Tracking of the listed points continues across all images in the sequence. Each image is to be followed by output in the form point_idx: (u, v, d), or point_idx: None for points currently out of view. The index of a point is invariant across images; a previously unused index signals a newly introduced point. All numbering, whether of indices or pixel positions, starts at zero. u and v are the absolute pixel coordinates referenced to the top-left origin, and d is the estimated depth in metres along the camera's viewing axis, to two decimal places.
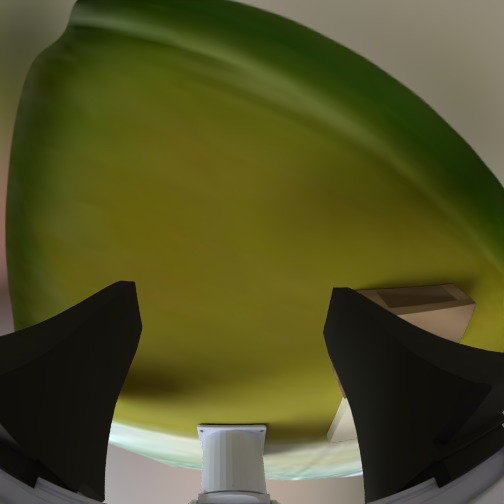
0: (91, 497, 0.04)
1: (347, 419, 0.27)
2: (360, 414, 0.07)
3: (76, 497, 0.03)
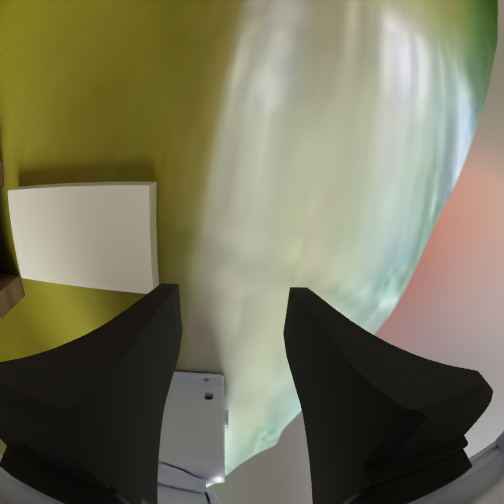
0: None
1: (76, 274, 0.16)
2: (309, 422, 0.07)
3: None
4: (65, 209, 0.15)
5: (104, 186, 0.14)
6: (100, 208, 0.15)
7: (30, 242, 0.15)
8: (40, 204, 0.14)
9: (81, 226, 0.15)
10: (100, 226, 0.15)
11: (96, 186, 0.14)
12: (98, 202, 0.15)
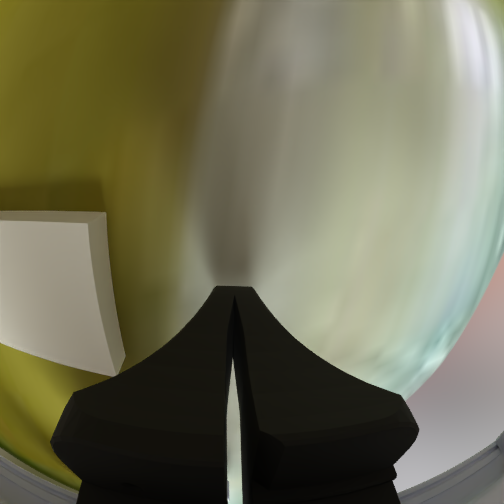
0: None
1: (17, 338, 0.09)
2: (241, 425, 0.06)
3: (76, 497, 0.03)
4: None
5: (27, 222, 0.08)
6: (26, 256, 0.08)
7: None
8: None
9: (9, 278, 0.08)
10: (31, 282, 0.08)
11: (17, 222, 0.07)
12: (22, 246, 0.08)
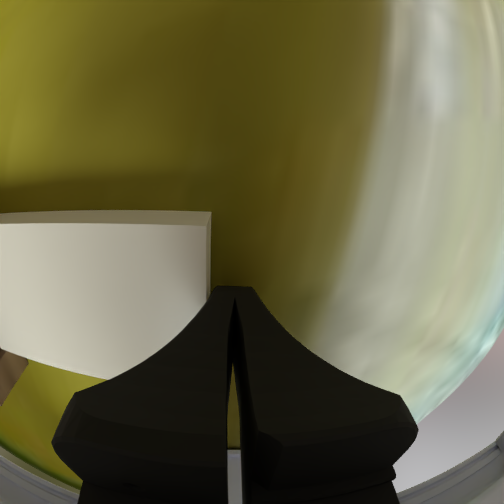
0: None
1: (77, 360, 0.10)
2: (240, 425, 0.06)
3: (76, 497, 0.03)
4: (45, 262, 0.08)
5: (111, 225, 0.08)
6: (107, 266, 0.08)
7: (2, 306, 0.08)
8: (5, 252, 0.08)
9: (75, 293, 0.08)
10: (110, 296, 0.08)
11: (96, 225, 0.08)
12: (101, 254, 0.08)
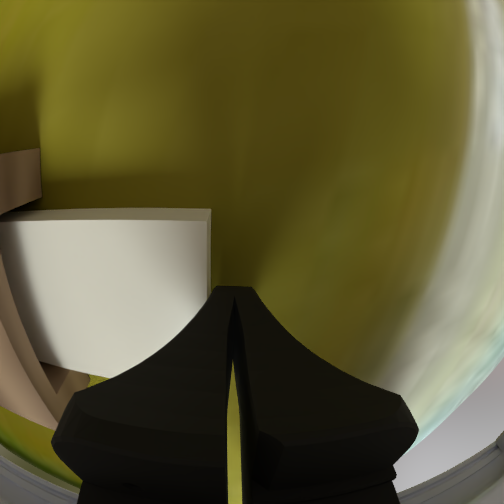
0: None
1: (78, 358, 0.10)
2: (240, 425, 0.06)
3: (76, 497, 0.03)
4: (46, 260, 0.08)
5: (112, 221, 0.08)
6: (108, 262, 0.08)
7: None
8: (6, 250, 0.08)
9: (76, 290, 0.08)
10: (111, 293, 0.09)
11: (97, 221, 0.08)
12: (102, 250, 0.08)
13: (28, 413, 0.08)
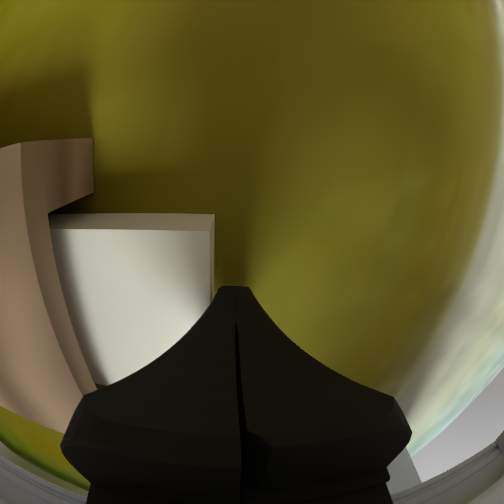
0: None
1: None
2: None
3: (76, 497, 0.03)
4: None
5: (112, 231, 0.07)
6: (108, 272, 0.08)
7: None
8: None
9: (76, 300, 0.08)
10: (112, 303, 0.08)
11: (96, 231, 0.07)
12: (102, 260, 0.08)
13: None
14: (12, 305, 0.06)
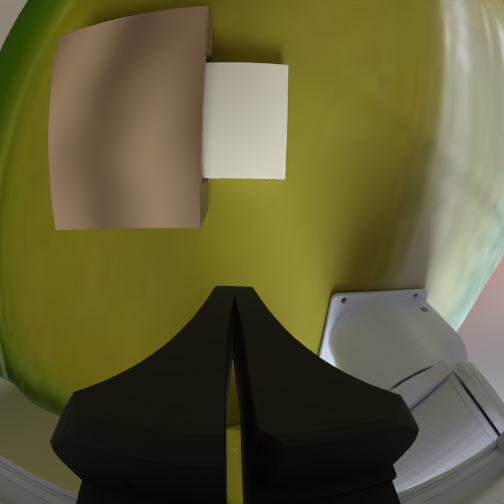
0: None
1: None
2: (241, 425, 0.06)
3: (76, 497, 0.03)
4: None
5: (237, 63, 0.13)
6: (230, 84, 0.13)
7: None
8: None
9: None
10: (228, 102, 0.14)
11: (227, 63, 0.13)
12: (227, 77, 0.13)
13: (159, 213, 0.13)
14: (169, 81, 0.11)
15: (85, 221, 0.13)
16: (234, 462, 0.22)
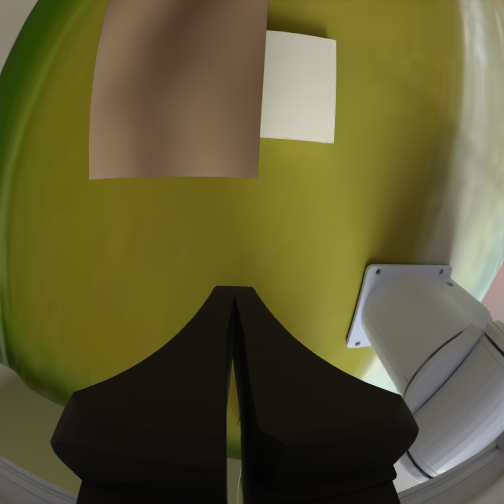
0: None
1: None
2: (240, 425, 0.06)
3: (76, 497, 0.03)
4: None
5: (289, 33, 0.12)
6: (283, 50, 0.13)
7: None
8: None
9: None
10: (281, 67, 0.13)
11: (280, 32, 0.12)
12: (281, 45, 0.13)
13: (215, 161, 0.13)
14: (233, 36, 0.11)
15: (127, 168, 0.13)
16: None
